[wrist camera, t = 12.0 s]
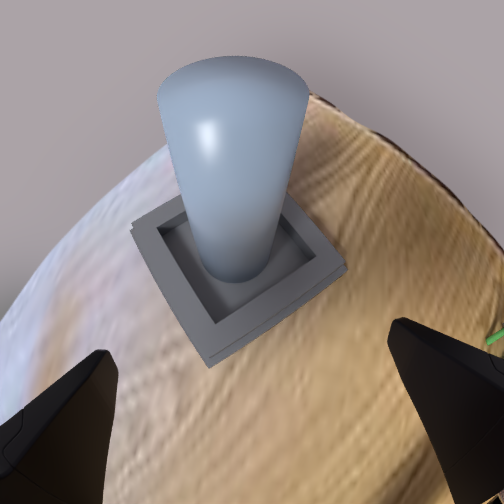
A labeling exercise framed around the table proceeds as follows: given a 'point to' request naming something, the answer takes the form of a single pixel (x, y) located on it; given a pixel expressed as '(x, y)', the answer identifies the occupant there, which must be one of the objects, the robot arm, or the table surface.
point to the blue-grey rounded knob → (233, 155)
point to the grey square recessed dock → (234, 294)
